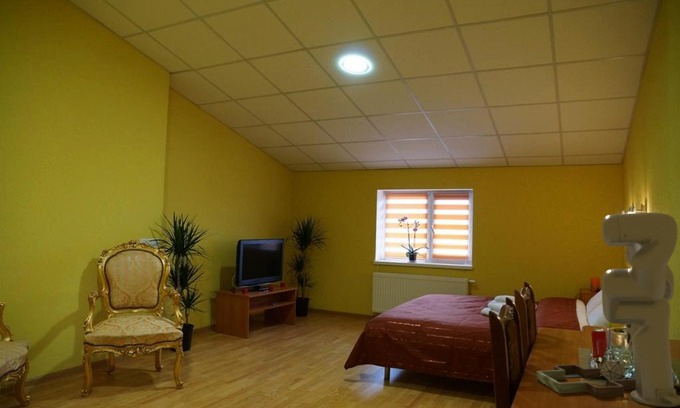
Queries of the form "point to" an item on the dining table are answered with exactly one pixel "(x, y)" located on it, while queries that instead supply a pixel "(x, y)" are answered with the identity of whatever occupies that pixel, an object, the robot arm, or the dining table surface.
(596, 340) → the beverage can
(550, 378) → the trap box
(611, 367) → the game die
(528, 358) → the dining table surface
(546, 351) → the dining table surface
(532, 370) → the dining table surface
